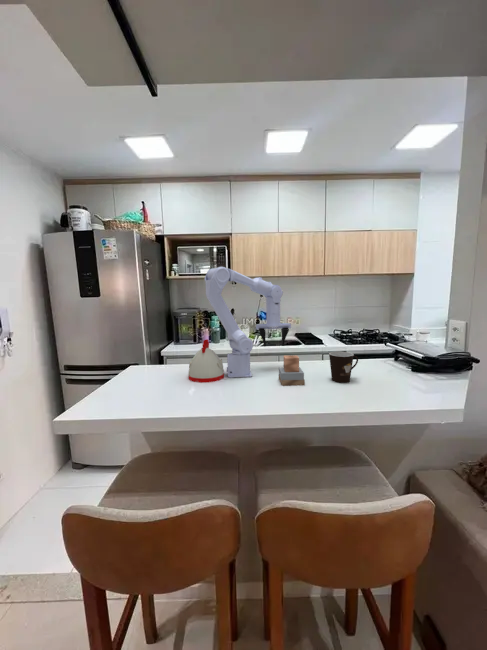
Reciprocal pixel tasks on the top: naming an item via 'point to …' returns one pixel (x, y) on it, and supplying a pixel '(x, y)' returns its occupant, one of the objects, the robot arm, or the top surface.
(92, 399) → the top surface
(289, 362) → the terracotta cube
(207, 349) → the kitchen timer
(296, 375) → the slate slab
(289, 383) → the walnut slab
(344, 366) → the coffee mug
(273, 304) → the robot arm
